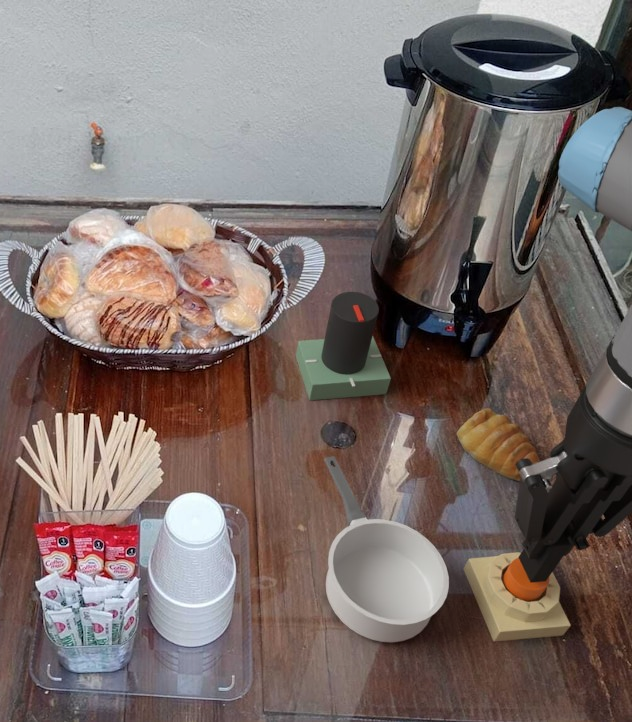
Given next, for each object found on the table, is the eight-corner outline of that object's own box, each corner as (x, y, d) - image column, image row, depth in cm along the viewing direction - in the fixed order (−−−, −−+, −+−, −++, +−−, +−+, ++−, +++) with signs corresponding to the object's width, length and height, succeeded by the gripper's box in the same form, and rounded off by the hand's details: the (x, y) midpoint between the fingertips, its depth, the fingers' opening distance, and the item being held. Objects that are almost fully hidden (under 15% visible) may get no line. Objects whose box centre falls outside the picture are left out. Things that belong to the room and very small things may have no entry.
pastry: (550, 467, 90) (562, 447, 87) (511, 495, 88) (522, 475, 85) (485, 417, 96) (494, 396, 93) (447, 441, 93) (455, 421, 91)
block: (528, 563, 82) (540, 543, 79) (563, 635, 76) (578, 617, 73) (463, 568, 81) (473, 549, 79) (493, 641, 76) (505, 623, 73)
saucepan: (368, 475, 90) (377, 446, 86) (456, 635, 76) (472, 608, 72) (275, 496, 89) (280, 467, 85) (348, 662, 75) (358, 637, 71)
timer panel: (366, 346, 105) (370, 329, 103) (388, 399, 98) (393, 382, 96) (294, 351, 105) (296, 335, 103) (311, 405, 98) (314, 389, 96)
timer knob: (316, 345, 101) (326, 291, 95) (358, 342, 101) (371, 287, 95) (327, 376, 97) (338, 322, 91) (371, 372, 98) (385, 318, 91)
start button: (532, 565, 77) (539, 555, 76) (548, 599, 75) (556, 588, 73) (497, 569, 77) (503, 558, 76) (512, 602, 75) (519, 592, 73)
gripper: (576, 455, 54) (480, 611, 71) (756, 440, 55) (618, 599, 72) (529, 378, 60) (450, 540, 76) (694, 365, 60) (579, 529, 77)
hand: (532, 569), depth 74 cm, fingers closed
